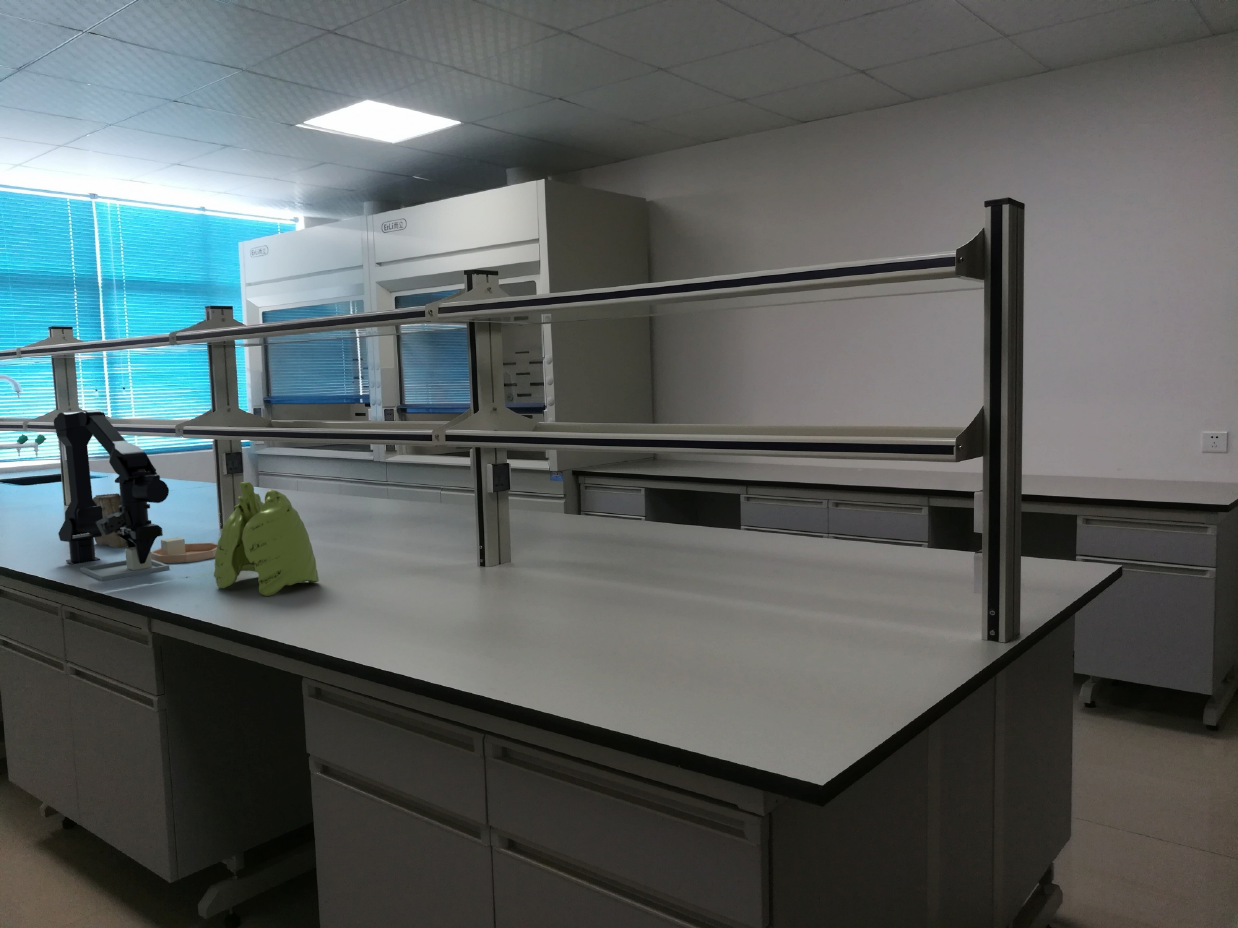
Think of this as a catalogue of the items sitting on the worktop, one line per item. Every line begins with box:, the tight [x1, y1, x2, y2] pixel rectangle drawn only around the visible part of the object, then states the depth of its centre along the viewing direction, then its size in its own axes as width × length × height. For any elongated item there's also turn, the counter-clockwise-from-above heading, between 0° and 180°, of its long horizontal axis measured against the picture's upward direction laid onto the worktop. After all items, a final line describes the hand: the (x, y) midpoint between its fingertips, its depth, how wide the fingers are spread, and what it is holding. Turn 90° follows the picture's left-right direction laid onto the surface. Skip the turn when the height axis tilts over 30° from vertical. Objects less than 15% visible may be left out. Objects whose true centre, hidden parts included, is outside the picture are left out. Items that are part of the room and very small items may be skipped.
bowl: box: [151, 542, 218, 564], centre depth 238 cm, size 16×16×2 cm
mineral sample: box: [92, 492, 128, 549], centre depth 260 cm, size 17×4×15 cm, turn 55°
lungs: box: [213, 481, 320, 597], centre depth 202 cm, size 25×16×24 cm, turn 59°
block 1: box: [124, 547, 152, 570], centre depth 224 cm, size 4×4×5 cm
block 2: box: [160, 536, 186, 555], centre depth 235 cm, size 4×4×5 cm
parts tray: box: [79, 559, 171, 582], centre depth 222 cm, size 17×15×2 cm
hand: (139, 562), depth 225 cm, fingers closed on block 1, 4 cm apart
